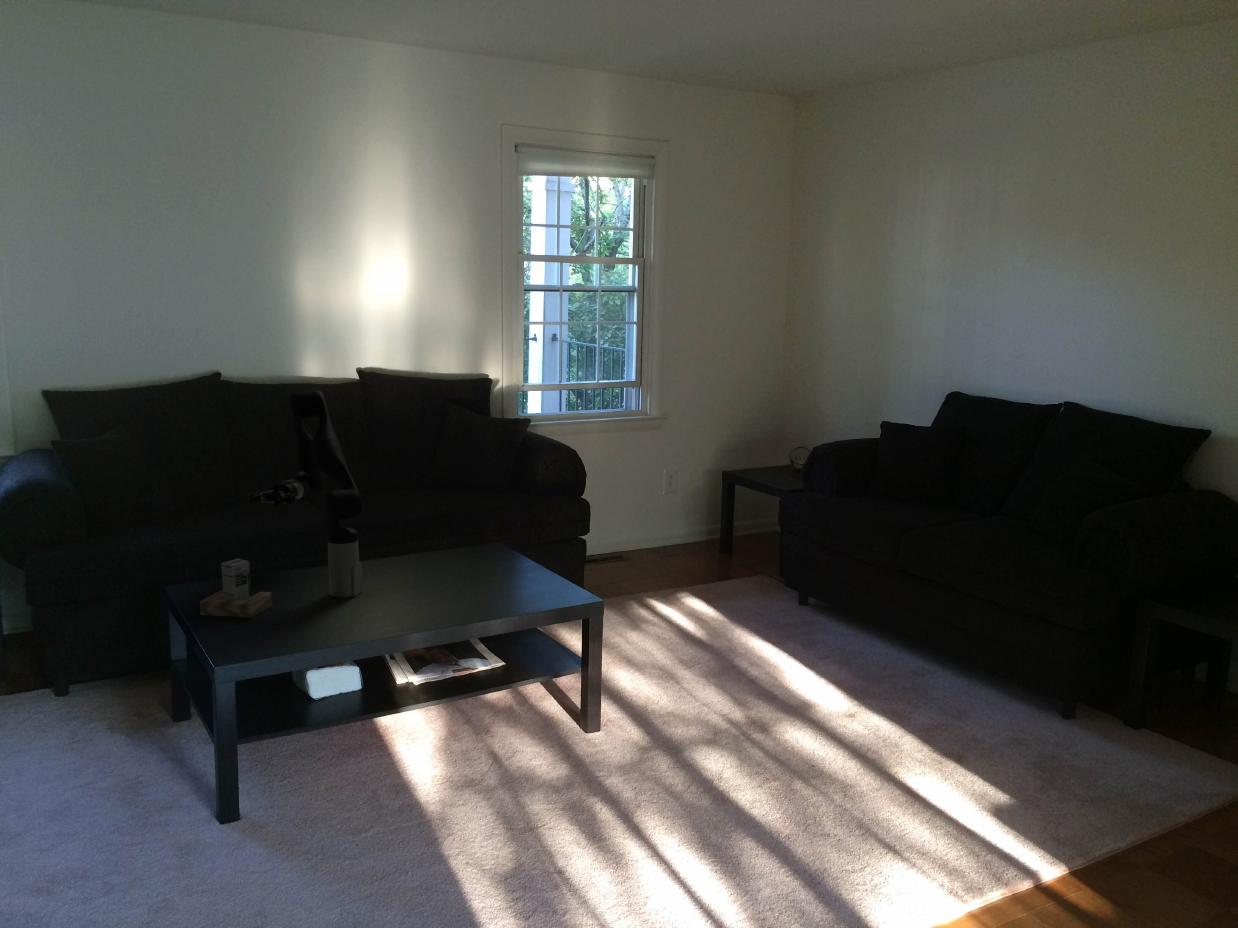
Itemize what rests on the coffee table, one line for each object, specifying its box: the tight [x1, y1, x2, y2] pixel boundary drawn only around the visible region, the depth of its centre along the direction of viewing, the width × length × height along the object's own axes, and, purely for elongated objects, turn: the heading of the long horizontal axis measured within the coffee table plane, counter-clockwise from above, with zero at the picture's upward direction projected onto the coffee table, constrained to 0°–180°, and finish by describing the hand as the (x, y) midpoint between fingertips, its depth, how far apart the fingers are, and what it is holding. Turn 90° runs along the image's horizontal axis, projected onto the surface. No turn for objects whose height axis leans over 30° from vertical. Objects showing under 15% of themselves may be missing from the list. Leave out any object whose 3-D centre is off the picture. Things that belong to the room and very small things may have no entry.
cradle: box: [199, 589, 273, 619], centre depth 293 cm, size 16×12×4 cm
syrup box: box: [220, 558, 253, 601], centre depth 294 cm, size 6×6×14 cm
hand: (263, 502), depth 311 cm, fingers open, 8 cm apart
